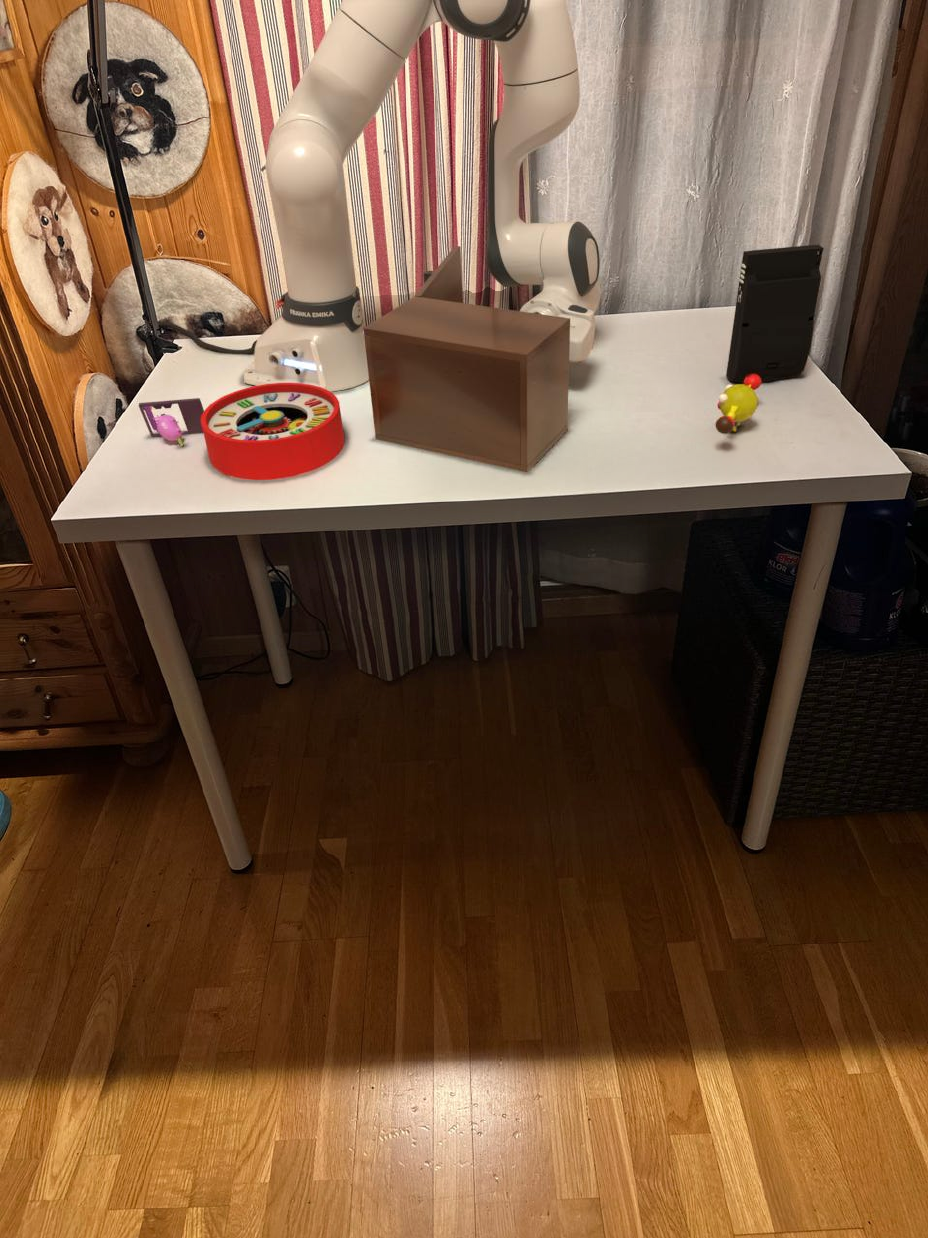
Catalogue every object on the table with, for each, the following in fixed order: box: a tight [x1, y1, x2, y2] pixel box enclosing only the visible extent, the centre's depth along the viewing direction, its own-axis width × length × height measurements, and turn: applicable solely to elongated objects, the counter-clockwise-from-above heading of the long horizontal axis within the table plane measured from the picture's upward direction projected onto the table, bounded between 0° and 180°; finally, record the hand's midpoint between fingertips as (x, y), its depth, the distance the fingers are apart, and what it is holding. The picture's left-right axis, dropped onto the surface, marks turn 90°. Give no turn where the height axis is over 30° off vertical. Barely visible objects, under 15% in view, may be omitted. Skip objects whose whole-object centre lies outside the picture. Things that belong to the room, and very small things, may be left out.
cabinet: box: [363, 295, 570, 473], centre depth 132 cm, size 14×25×17 cm, turn 61°
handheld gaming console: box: [725, 244, 824, 384], centre depth 143 cm, size 12×5×20 cm, turn 98°
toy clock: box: [201, 383, 345, 481], centre depth 135 cm, size 20×6×20 cm
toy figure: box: [715, 374, 763, 435], centre depth 133 cm, size 18×6×7 cm, turn 152°
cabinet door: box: [414, 245, 464, 303], centre depth 153 cm, size 6×25×17 cm, turn 166°
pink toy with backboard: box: [138, 397, 205, 447], centre depth 138 cm, size 7×5×9 cm
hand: (507, 353), depth 141 cm, fingers closed on supplement bottle, 5 cm apart
